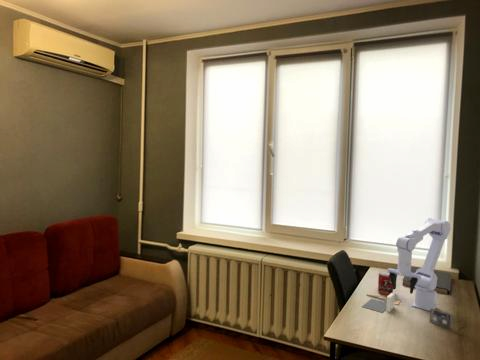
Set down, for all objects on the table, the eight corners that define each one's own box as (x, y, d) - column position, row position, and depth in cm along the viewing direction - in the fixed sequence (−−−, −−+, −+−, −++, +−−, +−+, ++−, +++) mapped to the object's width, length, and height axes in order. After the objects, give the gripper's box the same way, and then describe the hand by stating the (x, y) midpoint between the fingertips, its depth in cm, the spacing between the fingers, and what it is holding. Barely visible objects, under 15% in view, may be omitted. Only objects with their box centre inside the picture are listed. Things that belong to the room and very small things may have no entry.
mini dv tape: (450, 327, 162) (451, 314, 161) (449, 328, 161) (450, 315, 160) (431, 321, 168) (431, 308, 167) (429, 322, 167) (430, 309, 166)
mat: (391, 304, 186) (391, 303, 186) (382, 312, 175) (382, 312, 175) (371, 298, 192) (371, 298, 192) (361, 306, 181) (361, 306, 181)
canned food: (377, 294, 199) (378, 274, 198) (377, 289, 206) (379, 269, 206) (392, 296, 196) (394, 276, 195) (392, 291, 204) (394, 271, 203)
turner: (400, 302, 189) (400, 300, 189) (397, 305, 185) (397, 303, 185) (368, 294, 199) (369, 292, 199) (365, 296, 195) (365, 295, 195)
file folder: (409, 265, 242) (452, 273, 230) (409, 272, 242) (451, 279, 230) (402, 279, 214) (449, 289, 201) (401, 286, 214) (449, 296, 202)
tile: (394, 307, 182) (394, 293, 181) (389, 312, 176) (390, 297, 176) (390, 306, 183) (391, 292, 182) (385, 311, 177) (386, 296, 177)
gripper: (385, 261, 176) (384, 289, 177) (418, 267, 167) (416, 297, 168) (390, 258, 181) (389, 285, 182) (422, 264, 172) (421, 293, 173)
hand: (402, 291), depth 175 cm, fingers open, 7 cm apart
